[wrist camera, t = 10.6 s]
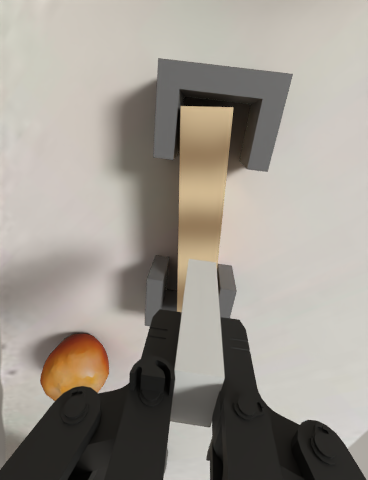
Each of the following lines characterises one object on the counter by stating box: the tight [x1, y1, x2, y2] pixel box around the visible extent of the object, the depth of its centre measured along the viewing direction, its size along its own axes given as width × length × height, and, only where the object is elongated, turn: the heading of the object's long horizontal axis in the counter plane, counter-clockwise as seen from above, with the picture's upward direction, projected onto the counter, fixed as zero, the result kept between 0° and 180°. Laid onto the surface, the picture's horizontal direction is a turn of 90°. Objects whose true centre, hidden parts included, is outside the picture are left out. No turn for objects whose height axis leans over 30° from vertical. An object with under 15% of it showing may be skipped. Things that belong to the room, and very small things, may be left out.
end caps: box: [145, 58, 293, 326], centre depth 22 cm, size 23×8×4 cm, turn 174°
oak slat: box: [177, 106, 234, 312], centre depth 22 cm, size 18×4×5 cm, turn 178°
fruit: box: [40, 334, 109, 401], centre depth 32 cm, size 8×8×8 cm
